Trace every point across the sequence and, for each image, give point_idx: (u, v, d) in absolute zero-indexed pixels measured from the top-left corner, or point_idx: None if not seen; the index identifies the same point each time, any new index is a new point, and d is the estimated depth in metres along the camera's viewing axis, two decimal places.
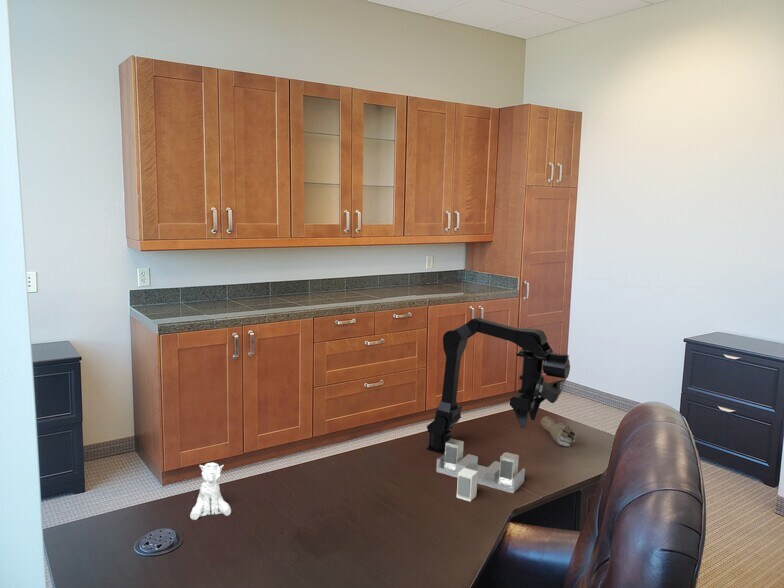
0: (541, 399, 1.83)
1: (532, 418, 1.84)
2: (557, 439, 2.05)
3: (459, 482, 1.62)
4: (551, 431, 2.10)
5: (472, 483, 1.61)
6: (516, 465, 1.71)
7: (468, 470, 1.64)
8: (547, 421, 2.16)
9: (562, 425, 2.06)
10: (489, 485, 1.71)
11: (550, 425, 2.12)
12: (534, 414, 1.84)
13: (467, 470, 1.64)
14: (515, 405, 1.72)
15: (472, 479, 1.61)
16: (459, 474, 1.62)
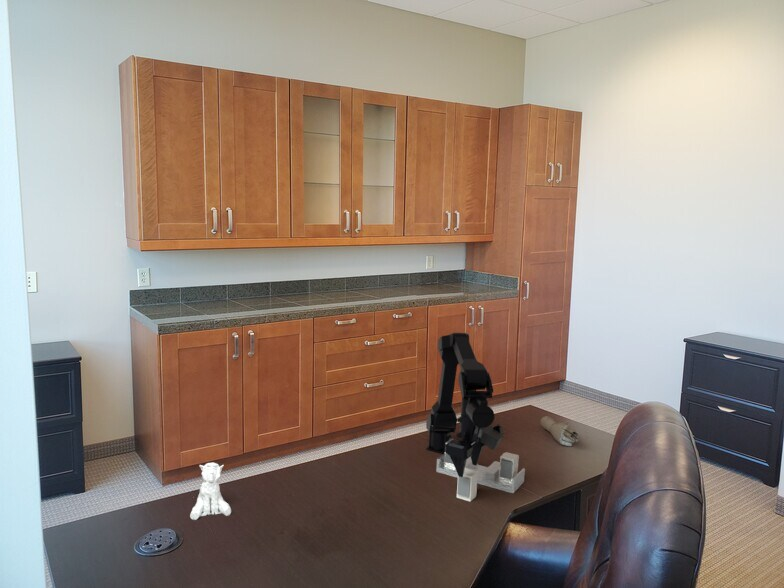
0: None
1: (474, 463, 1.67)
2: (559, 439, 2.05)
3: (459, 482, 1.62)
4: (552, 431, 2.10)
5: (472, 483, 1.61)
6: (516, 465, 1.71)
7: (468, 470, 1.64)
8: (548, 420, 2.16)
9: (564, 425, 2.06)
10: (489, 485, 1.71)
11: (551, 425, 2.12)
12: (476, 459, 1.66)
13: (467, 470, 1.64)
14: (450, 452, 1.55)
15: (472, 479, 1.61)
16: None
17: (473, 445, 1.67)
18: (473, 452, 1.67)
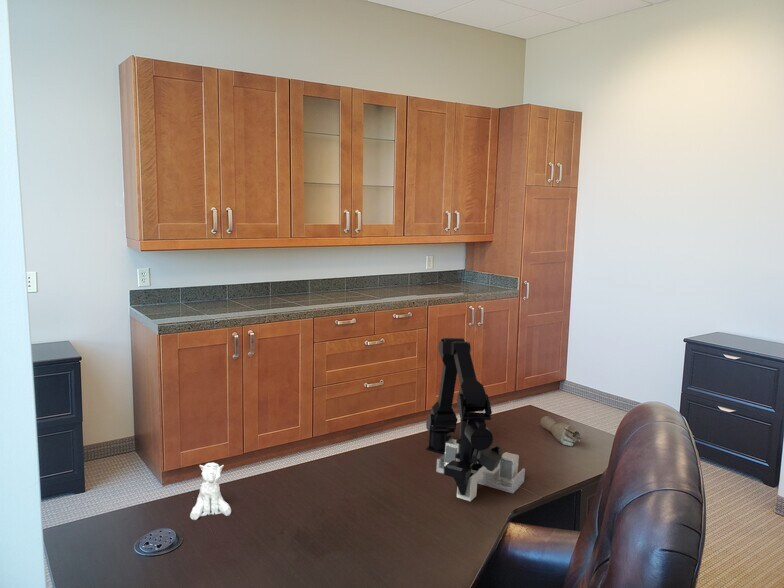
0: (479, 466, 1.64)
1: None
2: (561, 439, 2.05)
3: None
4: (553, 431, 2.10)
5: (472, 483, 1.61)
6: (516, 465, 1.71)
7: None
8: (548, 420, 2.16)
9: (565, 425, 2.06)
10: (489, 485, 1.71)
11: (552, 425, 2.12)
12: None
13: None
14: (449, 474, 1.55)
15: (472, 479, 1.61)
16: None
17: None
18: None
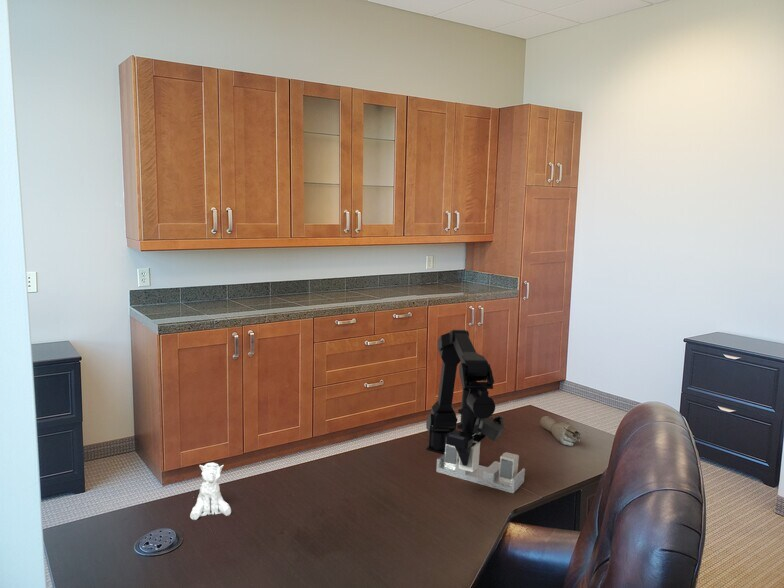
0: (481, 437, 1.63)
1: None
2: (561, 439, 2.05)
3: None
4: (553, 431, 2.10)
5: (474, 453, 1.60)
6: (516, 465, 1.71)
7: None
8: (548, 420, 2.17)
9: (565, 425, 2.06)
10: (489, 485, 1.71)
11: (552, 425, 2.13)
12: None
13: None
14: (451, 443, 1.54)
15: (474, 449, 1.60)
16: None
17: None
18: None
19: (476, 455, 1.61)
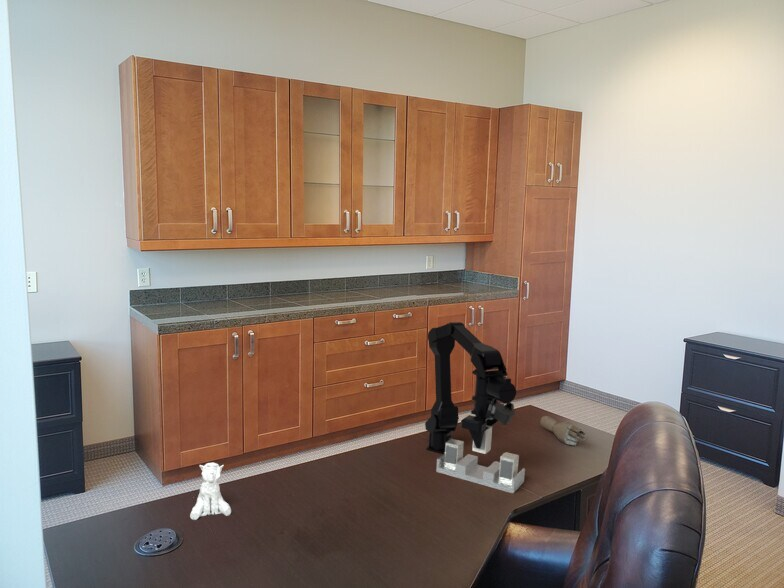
0: (493, 421, 1.76)
1: None
2: (564, 439, 2.05)
3: None
4: (555, 431, 2.10)
5: (487, 437, 1.73)
6: (516, 465, 1.71)
7: None
8: (549, 420, 2.17)
9: (568, 424, 2.07)
10: (489, 485, 1.71)
11: (553, 425, 2.13)
12: None
13: None
14: (466, 427, 1.67)
15: (487, 433, 1.73)
16: None
17: None
18: None
19: (488, 438, 1.75)
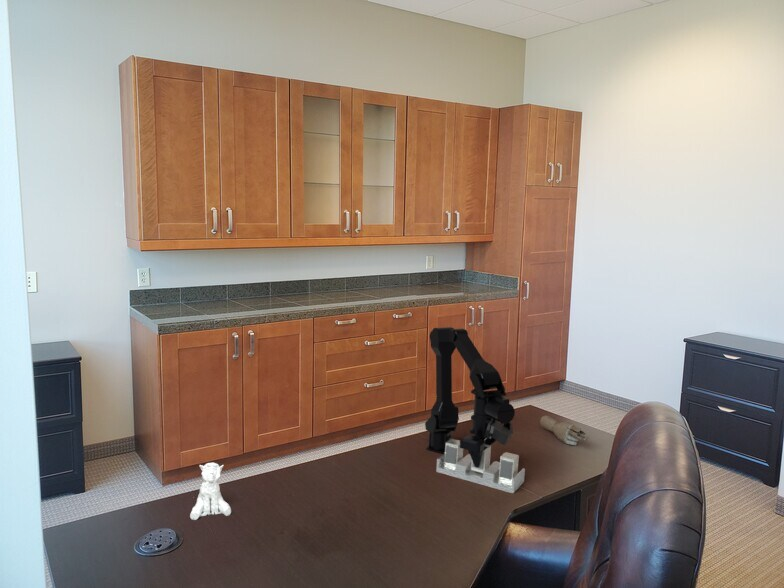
0: (492, 441, 1.77)
1: None
2: (564, 438, 2.06)
3: None
4: (555, 431, 2.10)
5: (486, 456, 1.74)
6: (516, 465, 1.71)
7: None
8: (549, 420, 2.17)
9: (568, 424, 2.07)
10: (489, 485, 1.71)
11: (553, 424, 2.13)
12: None
13: None
14: (465, 447, 1.68)
15: (486, 452, 1.74)
16: None
17: None
18: None
19: (487, 458, 1.75)
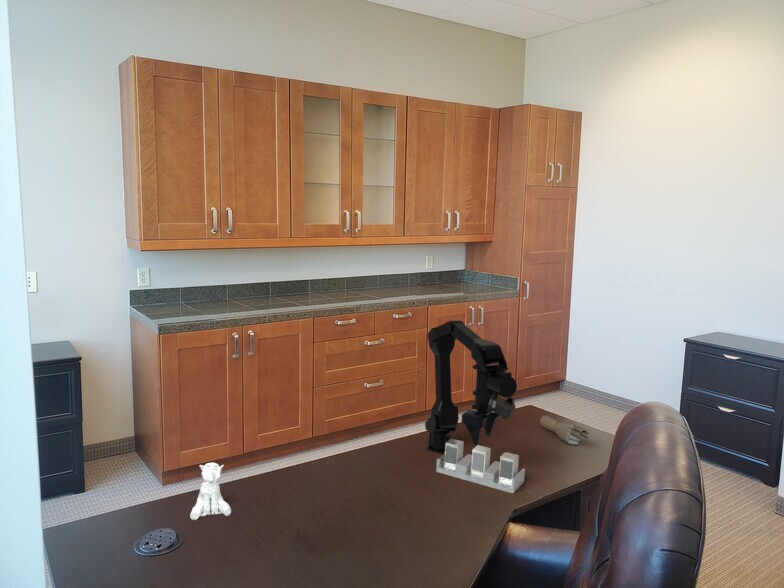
0: (496, 414, 1.78)
1: (487, 434, 1.79)
2: (566, 438, 2.06)
3: (473, 458, 1.75)
4: (557, 430, 2.11)
5: (486, 459, 1.74)
6: (516, 465, 1.71)
7: (481, 447, 1.77)
8: (549, 420, 2.17)
9: (570, 424, 2.07)
10: (489, 485, 1.71)
11: (554, 424, 2.13)
12: (489, 430, 1.79)
13: (480, 447, 1.77)
14: (467, 422, 1.67)
15: (486, 455, 1.74)
16: (473, 450, 1.75)
17: (487, 417, 1.79)
18: (487, 424, 1.79)
19: (487, 460, 1.75)
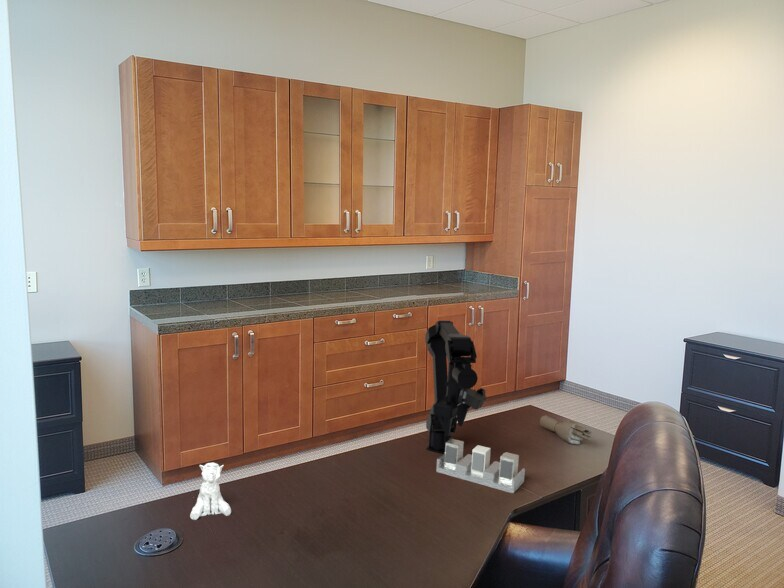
0: (468, 405, 1.82)
1: (460, 424, 1.84)
2: (568, 438, 2.06)
3: (473, 458, 1.75)
4: (558, 430, 2.11)
5: (486, 459, 1.74)
6: (516, 465, 1.71)
7: (481, 447, 1.77)
8: (549, 420, 2.17)
9: (571, 424, 2.08)
10: (489, 485, 1.71)
11: (555, 424, 2.13)
12: (461, 420, 1.83)
13: (480, 447, 1.77)
14: (437, 412, 1.72)
15: (486, 455, 1.74)
16: (473, 450, 1.75)
17: (459, 408, 1.84)
18: (459, 414, 1.84)
19: (487, 460, 1.75)
